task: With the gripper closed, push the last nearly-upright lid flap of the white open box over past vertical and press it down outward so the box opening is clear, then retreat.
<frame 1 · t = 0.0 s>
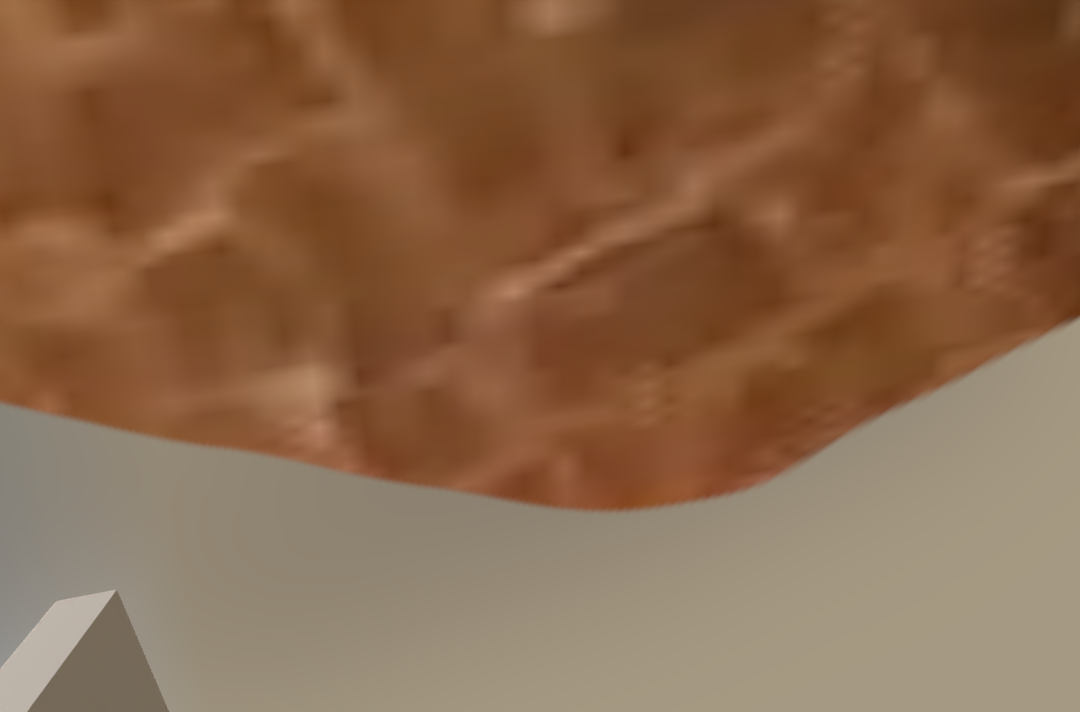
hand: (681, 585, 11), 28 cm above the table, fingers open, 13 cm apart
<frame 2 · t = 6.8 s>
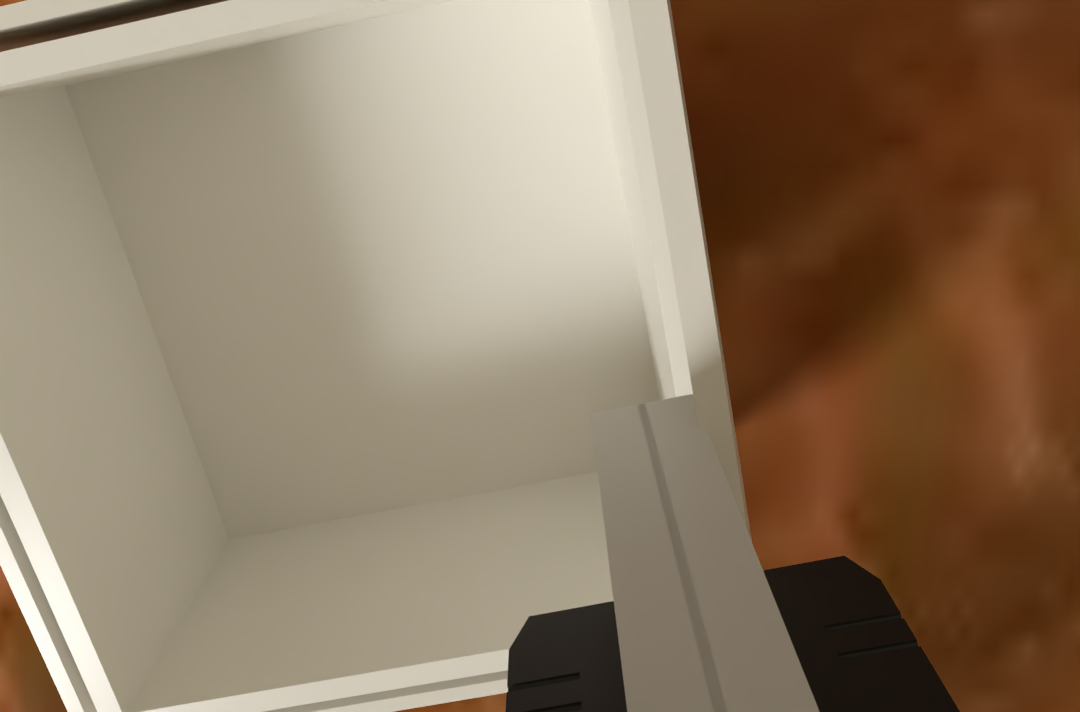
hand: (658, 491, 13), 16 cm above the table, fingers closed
flap: (717, 400, 16), point 13 cm above the table, hinge at 82.9°, touching gripper
white open box: (390, 279, 29), on the table
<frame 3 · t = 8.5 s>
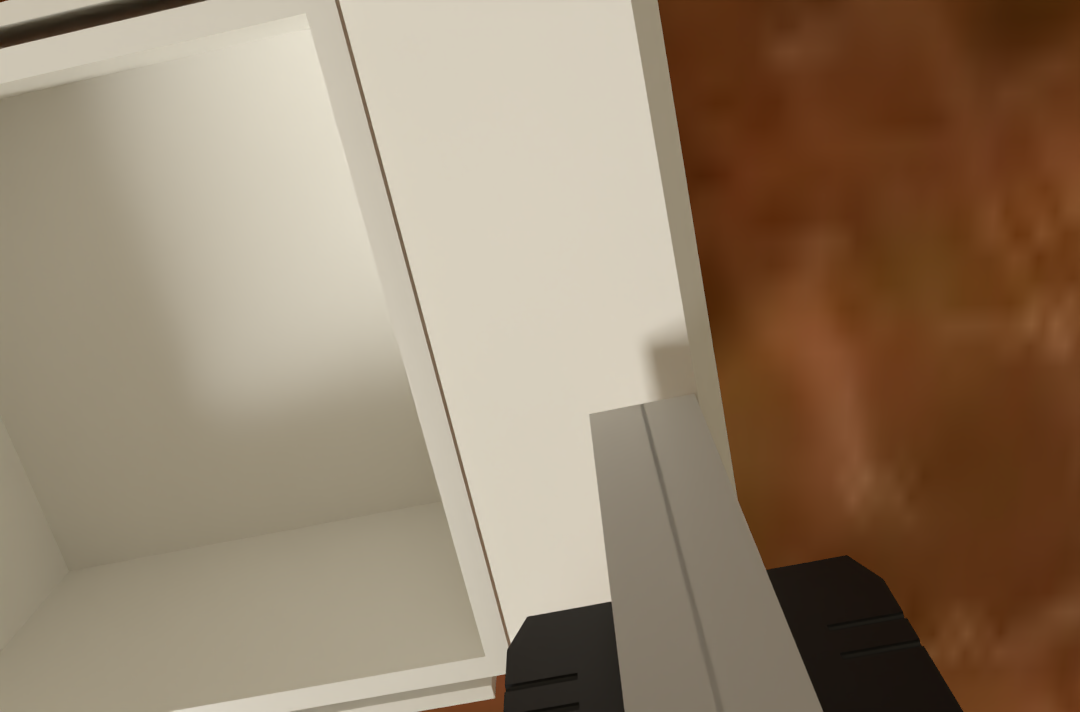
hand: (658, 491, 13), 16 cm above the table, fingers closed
flap: (558, 415, 17), point 13 cm above the table, hinge at 125.2°, touching gripper
white open box: (214, 315, 29), on the table
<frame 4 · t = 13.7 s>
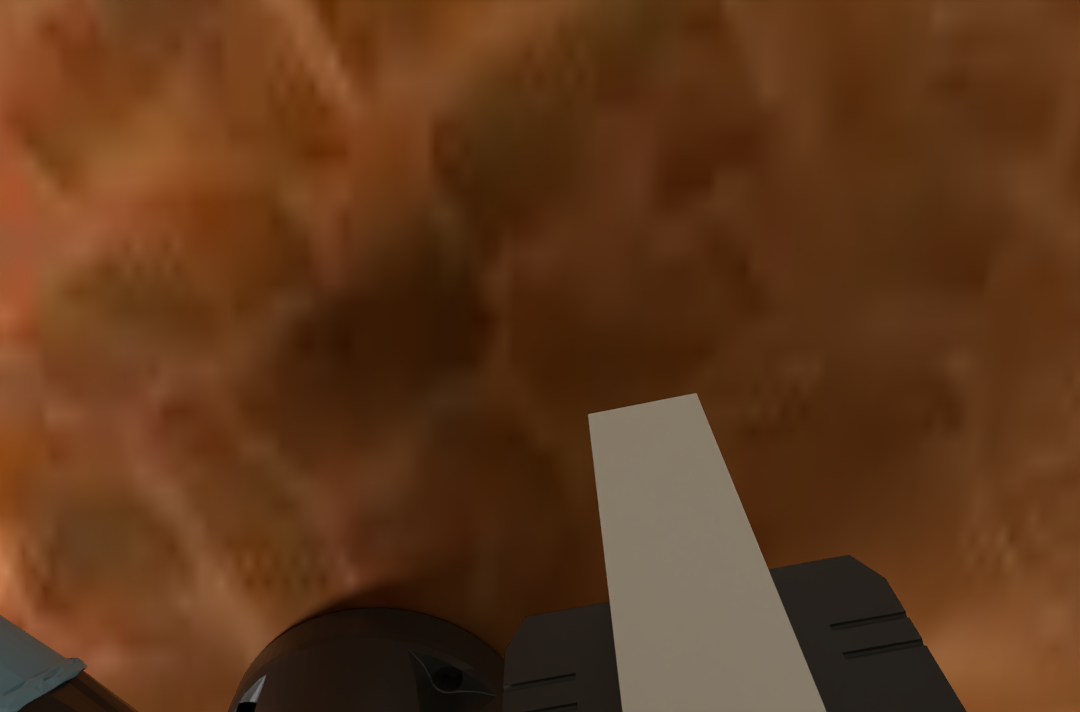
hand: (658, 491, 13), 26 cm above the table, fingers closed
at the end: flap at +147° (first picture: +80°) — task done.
